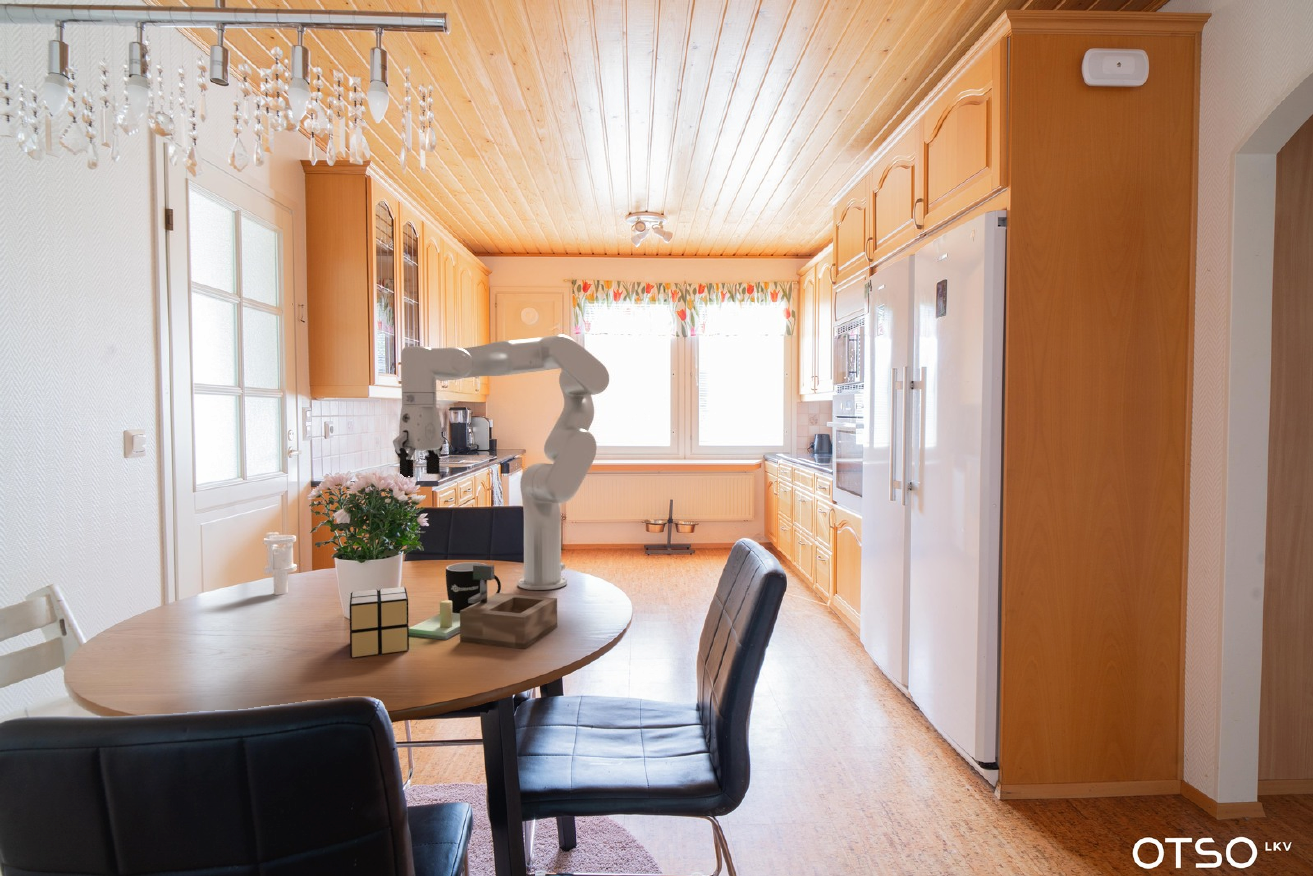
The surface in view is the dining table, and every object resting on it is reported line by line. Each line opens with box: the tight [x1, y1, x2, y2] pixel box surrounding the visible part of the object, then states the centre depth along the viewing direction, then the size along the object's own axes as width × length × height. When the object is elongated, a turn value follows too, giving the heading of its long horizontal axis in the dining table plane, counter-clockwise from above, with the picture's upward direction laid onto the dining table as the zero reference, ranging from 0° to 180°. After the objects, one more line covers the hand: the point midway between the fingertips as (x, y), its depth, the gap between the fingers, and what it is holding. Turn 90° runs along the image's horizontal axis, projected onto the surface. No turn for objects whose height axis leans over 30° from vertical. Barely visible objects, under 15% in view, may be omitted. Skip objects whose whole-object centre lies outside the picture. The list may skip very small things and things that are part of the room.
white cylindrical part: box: [262, 531, 298, 596], centre depth 166 cm, size 7×7×15 cm
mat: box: [409, 630, 460, 641], centre depth 139 cm, size 13×10×1 cm
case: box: [459, 592, 558, 650], centre depth 135 cm, size 14×14×6 cm
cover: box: [409, 599, 460, 637], centre depth 139 cm, size 12×9×6 cm
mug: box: [445, 561, 502, 614], centre depth 152 cm, size 12×9×10 cm
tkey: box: [468, 564, 495, 603], centre depth 135 cm, size 4×6×7 cm
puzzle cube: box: [348, 586, 410, 659], centre depth 128 cm, size 10×10×10 cm
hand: (420, 475), depth 155 cm, fingers open, 9 cm apart
